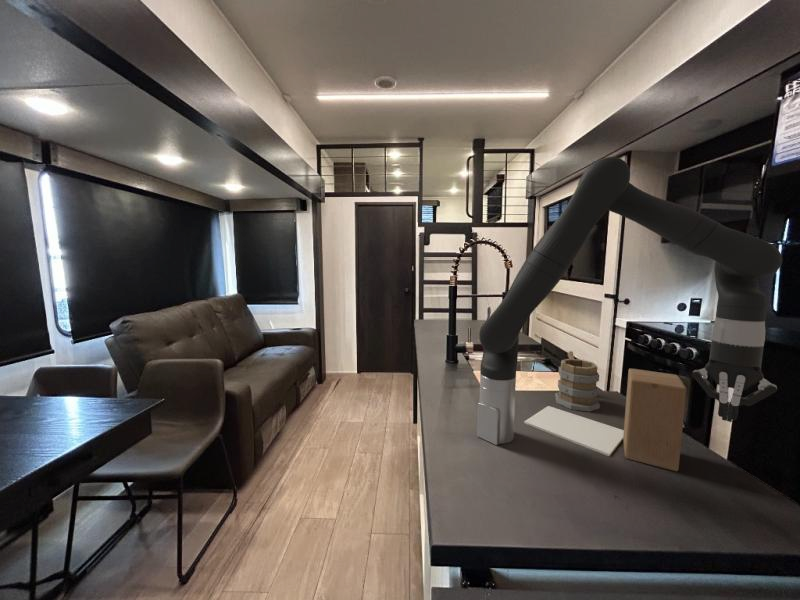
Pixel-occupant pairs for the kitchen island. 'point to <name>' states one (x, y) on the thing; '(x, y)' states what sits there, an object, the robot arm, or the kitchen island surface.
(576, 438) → the mat
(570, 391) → the tankard
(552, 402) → the kitchen island surface
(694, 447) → the kitchen island surface
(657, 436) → the wooden block
